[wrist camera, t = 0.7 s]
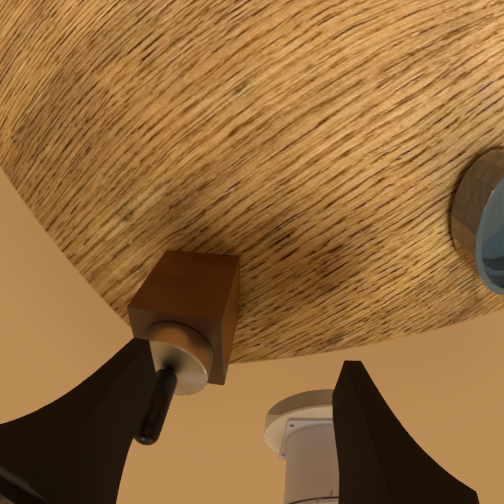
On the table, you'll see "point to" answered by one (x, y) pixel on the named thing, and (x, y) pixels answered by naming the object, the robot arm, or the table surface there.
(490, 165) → the bowl
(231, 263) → the brown block
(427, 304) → the table surface
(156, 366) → the disc with handle
